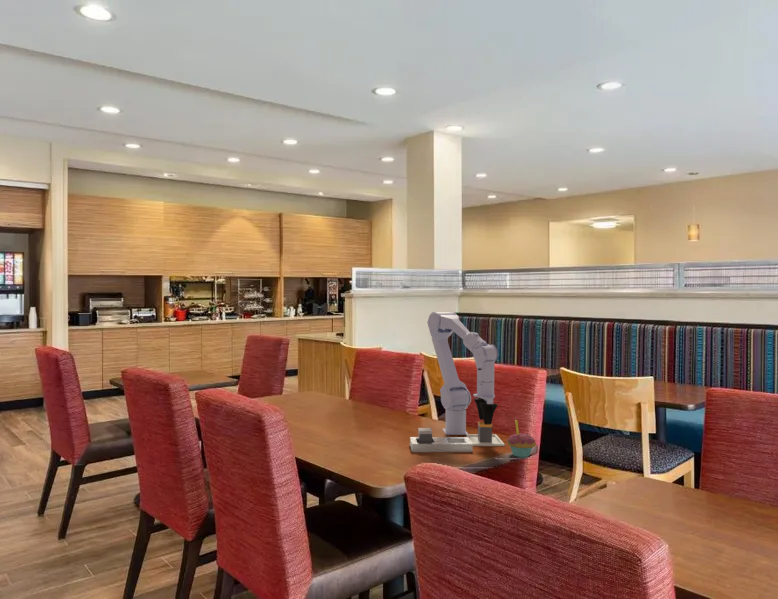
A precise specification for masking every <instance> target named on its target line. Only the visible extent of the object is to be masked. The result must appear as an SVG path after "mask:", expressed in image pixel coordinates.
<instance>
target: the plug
mask: <svg viewBox="0 0 778 599" xmlns="http://www.w3.org/2000/svg"><path fill="white" fill-rule="evenodd" d="M477 434H478V440H479V442H492V434H493V422H492V423H491V424H488V425H485V424H484V421H477Z"/></svg>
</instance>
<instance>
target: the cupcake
mask: <svg viewBox="0 0 778 599" xmlns="http://www.w3.org/2000/svg"><path fill="white" fill-rule="evenodd" d="M514 421H515V431H516V433H513V434H511V435H509V437H508V438H507V443H506V444H507V445H508V446H509V447H510V450H511V453H512V456H514V457H515V458H517V459H522V460H523V459H528V458H529V457H530V456H531V455H530V454H531V452H532V449H533V448H535V447H536V440H535V438H534V437H533V436H531V434H528V433H524V432H523V433H522V432H520V431H519V423H518V420H517V417H515V418H514Z"/></svg>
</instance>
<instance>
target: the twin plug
mask: <svg viewBox="0 0 778 599" xmlns="http://www.w3.org/2000/svg"><path fill="white" fill-rule="evenodd" d="M417 429H418V430H417V432H418V433H417V434H418V436H417V437H418V443H432V437H433V430H432V428H431V427H418V428H417Z"/></svg>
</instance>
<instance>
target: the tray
mask: <svg viewBox="0 0 778 599" xmlns="http://www.w3.org/2000/svg"><path fill="white" fill-rule="evenodd" d="M465 437H468V438H469V439H470V441H471V442H472V444H473V447H505V443H504V442H503V440H501V438H500V437H499V436H498V435H497V434H496V433H495V434H494V433H492V442H479V440H478V433H477V434H475V433H474V434H470V433H468V434H466V436H465Z"/></svg>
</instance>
